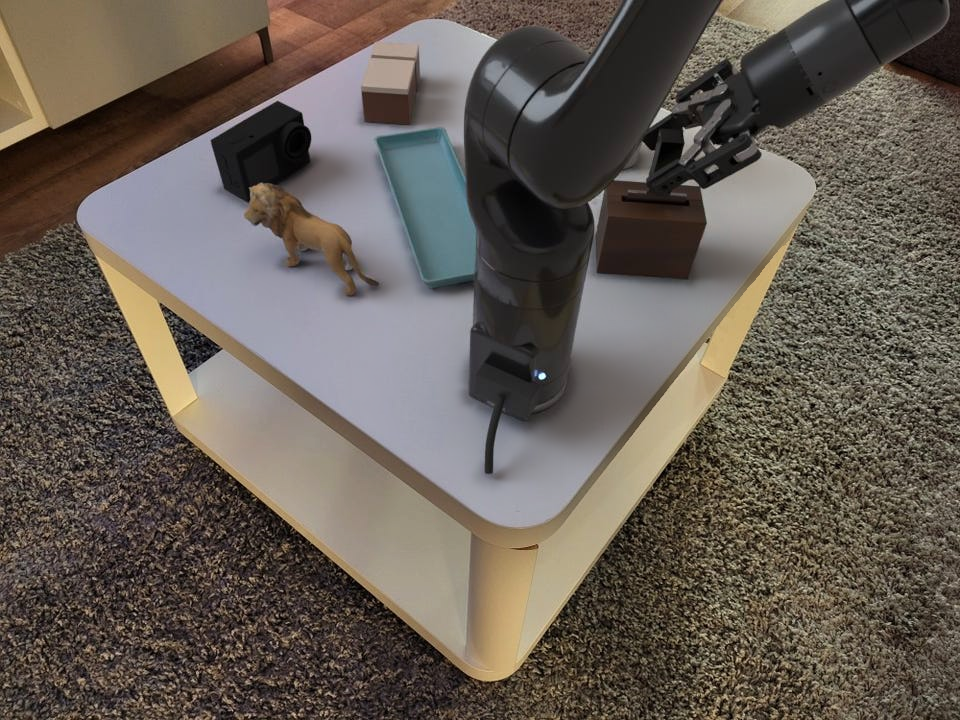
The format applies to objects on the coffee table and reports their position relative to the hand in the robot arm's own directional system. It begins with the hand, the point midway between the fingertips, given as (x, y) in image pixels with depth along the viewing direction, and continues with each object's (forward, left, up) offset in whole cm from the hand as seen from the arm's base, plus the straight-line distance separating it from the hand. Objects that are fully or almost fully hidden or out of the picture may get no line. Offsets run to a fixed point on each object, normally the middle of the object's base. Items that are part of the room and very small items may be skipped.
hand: (648, 165), depth 75 cm
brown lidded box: (+11, +39, -12) cm, 42 cm away
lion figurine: (-19, +29, -12) cm, 37 cm away
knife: (+1, -1, -12) cm, 12 cm away
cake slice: (+16, +41, -12) cm, 46 cm away
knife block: (+1, -1, -12) cm, 12 cm away
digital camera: (-9, +43, -12) cm, 45 cm away
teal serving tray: (-5, +22, -12) cm, 26 cm away
